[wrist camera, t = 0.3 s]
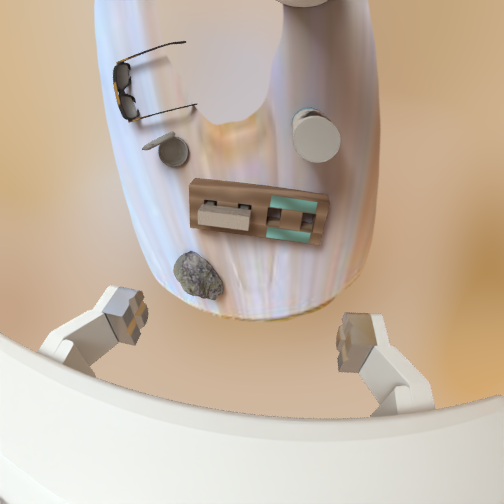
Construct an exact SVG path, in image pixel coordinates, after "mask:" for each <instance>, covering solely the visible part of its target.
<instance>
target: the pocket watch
mask: <svg viewBox="0 0 504 504" xmlns="http://www.w3.org/2000/svg"><path fill="white" fill-rule="evenodd" d="M174 136H175V133H174V132H170V133H168V134H166V135H163V136H161V137H159V138H157V139H155V140H154V141H152V142H150V143H148V144H146V145H145V146H144V147H143V148H142V150H149V149H151V148H153V147H156V146H157V145H159V144H160V146H159V156H160V158H161V160H162V162H163V163H165V164H166V165H168V166H171V167H177V166H180V165H182V164H183V163H184V162H185V161H186V159H187V157H188V147H187V145H186V143H185V142H184V141H183V140H182V139H181V138H178V137H174Z"/></svg>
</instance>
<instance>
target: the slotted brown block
mask: <svg viewBox="0 0 504 504" xmlns="http://www.w3.org/2000/svg"><path fill="white" fill-rule="evenodd" d="M208 200H213V201H217V206H223V207H231V208H239V209H240V204H247V205H252V208H251V220H250V226H249V230H248V231H245V230H238V229H231V228H223V227H215V226H208V225H200V224H198V210H199V208H200V206H201V205H202V204H206V203H207V201H208ZM189 203H190V228H197V229H205V230H213V231H220V232H228V233H235V234H243V235H250V236H257V237H264V238H271V239H278V240H285V241H292V242H299V243H306V244H313V245H320V242H321V238H322V234H323V230H324V226H325V222H326V218H327V213H328V209H329V205H330V202H329V198H328V195H324V194H318V193H312V192H306V191H299V190H293V189H286V188H279V187H271V186H264V185H256V184H248V183H239V182H230V181H221V180H211V179H200V178H195V179H194V180H193V181H192V182H191V183H190V185H189ZM268 207H270V208H277V209H281V215H280V218H274V217H267V214H268ZM303 212H304V213H311V214H313V219H312V223H308V222H302V221H301V220H302V215H303Z"/></svg>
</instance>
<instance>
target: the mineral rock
mask: <svg viewBox="0 0 504 504" xmlns="http://www.w3.org/2000/svg"><path fill="white" fill-rule="evenodd" d="M174 275H175V277H176V279H177V280H178V281H179V282H180V284H181V285H182V288H183V290H184V291H185V292H187V293H188V294H190V295H192V296H200V297H201V298H205V299H206V298H208V299H211V300H215V299H216V297H217V296H218V295H220V294H222V293H223V285H222V281H221V280H220V278H219V277H218V275H217V274H216V272H215V271H214V270H213V268H212V266H211V265H209V264H208V262H207V261H206V260H204V259H203V258H201V257H200V256H199V255H198V254H197V253H194V252H193V251H190V252H188V253H185V254H183V255H181V256H180V257H179V258H178V260H177V261H176V263H175V265H174Z"/></svg>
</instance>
